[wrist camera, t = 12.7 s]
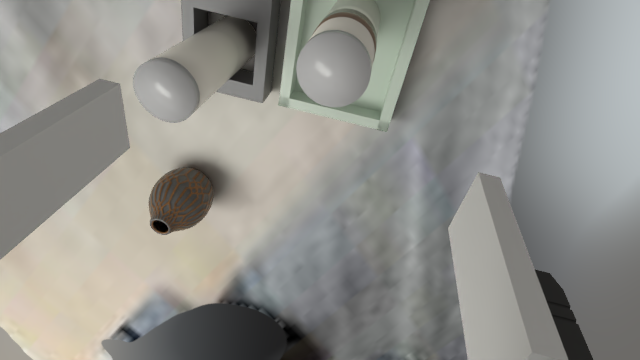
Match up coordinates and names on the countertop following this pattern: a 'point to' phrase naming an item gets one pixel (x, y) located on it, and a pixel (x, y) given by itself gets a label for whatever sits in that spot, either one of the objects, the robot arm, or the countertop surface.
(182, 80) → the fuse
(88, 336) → the countertop surface
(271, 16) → the fuse block
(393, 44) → the tray
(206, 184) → the vase
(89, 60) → the countertop surface
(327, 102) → the cylinder
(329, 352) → the countertop surface
